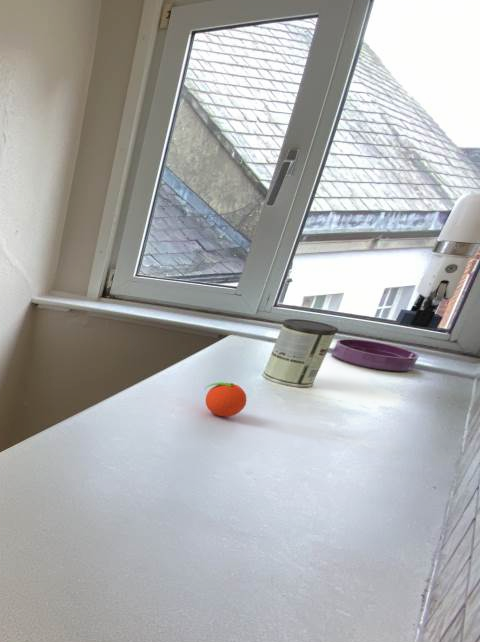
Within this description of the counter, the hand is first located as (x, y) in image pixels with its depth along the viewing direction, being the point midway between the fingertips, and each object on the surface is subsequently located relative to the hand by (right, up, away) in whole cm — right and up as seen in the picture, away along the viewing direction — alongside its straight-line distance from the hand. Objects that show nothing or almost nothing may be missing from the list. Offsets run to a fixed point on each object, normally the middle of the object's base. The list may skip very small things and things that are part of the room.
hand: (416, 323), depth 139 cm
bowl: (+1, -8, +14) cm, 16 cm away
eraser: (0, 0, 0) cm, 0 cm away
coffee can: (-36, -15, -3) cm, 39 cm away
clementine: (-68, -24, -25) cm, 77 cm away
